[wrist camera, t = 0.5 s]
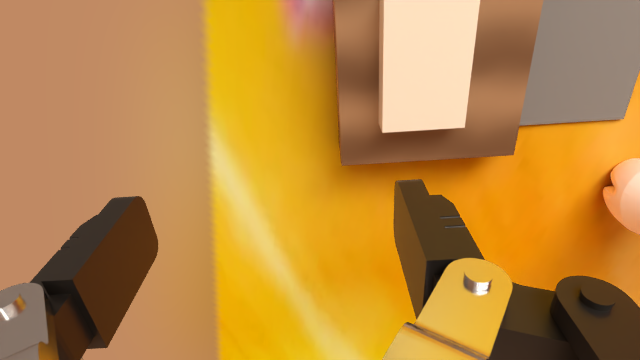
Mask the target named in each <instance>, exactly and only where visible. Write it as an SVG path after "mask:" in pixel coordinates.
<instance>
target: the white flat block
mask: <svg viewBox="0 0 640 360" xmlns="http://www.w3.org/2000/svg"><path fill="white" fill-rule="evenodd" d="M479 6H480V0H380V2H379V126H380V128H381V131H382V133H388V132H403V131H419V130H435V129H451V128H465V121H466V113H467V105H468V97H469V88H470V80H471V72H472V64H473V55H474V47H475V39H476V31H477V22H478V14H479Z"/></svg>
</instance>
